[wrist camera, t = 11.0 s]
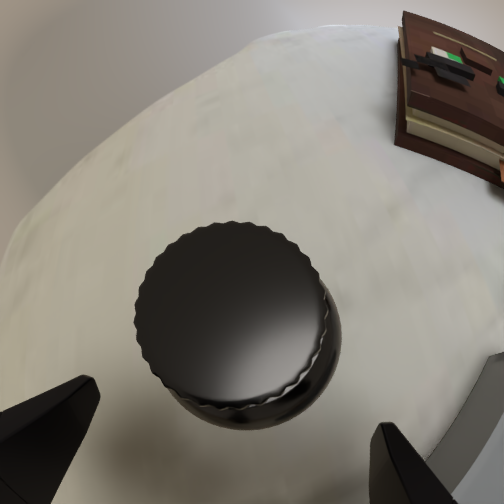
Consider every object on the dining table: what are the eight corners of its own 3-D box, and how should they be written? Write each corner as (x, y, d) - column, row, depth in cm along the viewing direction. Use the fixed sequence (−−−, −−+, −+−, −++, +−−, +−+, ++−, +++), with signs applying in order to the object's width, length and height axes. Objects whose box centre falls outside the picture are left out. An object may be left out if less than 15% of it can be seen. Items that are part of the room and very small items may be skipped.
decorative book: (508, 46, 24) (582, 186, 13) (494, 80, 31) (541, 228, 20) (395, 0, 29) (398, 92, 17) (389, 39, 36) (378, 161, 24)
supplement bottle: (192, 322, 19) (91, 228, 8) (294, 290, 19) (307, 157, 9) (222, 426, 16) (130, 471, 5) (332, 391, 16) (415, 387, 6)
